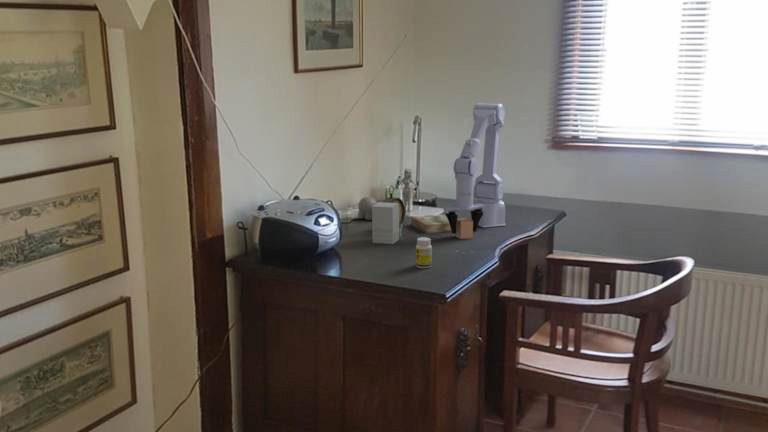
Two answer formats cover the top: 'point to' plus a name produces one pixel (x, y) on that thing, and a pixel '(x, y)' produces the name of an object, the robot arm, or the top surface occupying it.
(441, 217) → the plinth
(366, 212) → the chubby cartoon animal
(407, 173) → the human figurine
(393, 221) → the supplement box
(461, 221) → the block
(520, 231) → the top surface
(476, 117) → the robot arm
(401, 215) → the alarm clock
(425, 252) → the supplement bottle
